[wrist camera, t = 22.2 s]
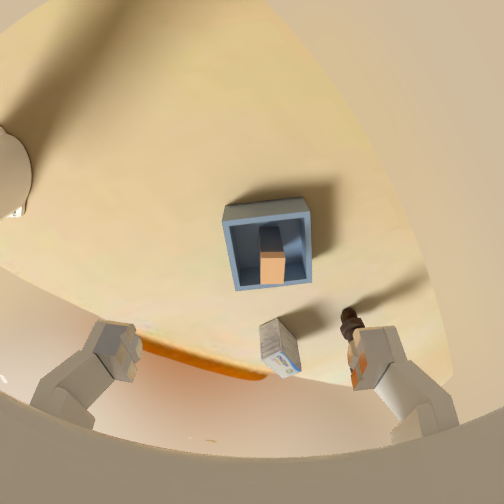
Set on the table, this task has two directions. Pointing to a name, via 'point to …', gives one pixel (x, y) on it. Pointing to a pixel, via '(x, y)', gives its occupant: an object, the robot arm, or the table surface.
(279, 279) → the block
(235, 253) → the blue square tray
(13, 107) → the table surface
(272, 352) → the medicine box
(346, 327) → the bolt
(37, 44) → the table surface
